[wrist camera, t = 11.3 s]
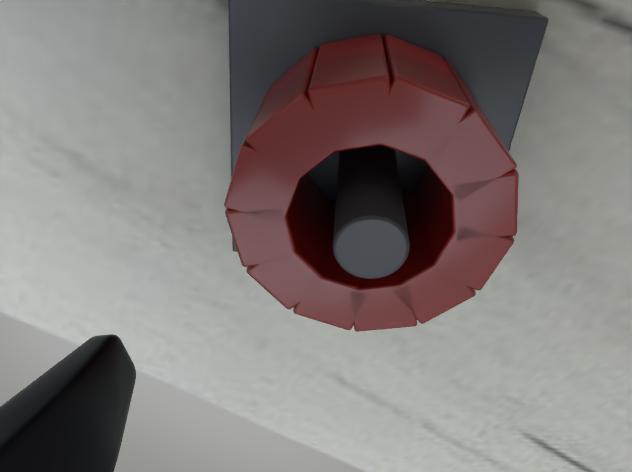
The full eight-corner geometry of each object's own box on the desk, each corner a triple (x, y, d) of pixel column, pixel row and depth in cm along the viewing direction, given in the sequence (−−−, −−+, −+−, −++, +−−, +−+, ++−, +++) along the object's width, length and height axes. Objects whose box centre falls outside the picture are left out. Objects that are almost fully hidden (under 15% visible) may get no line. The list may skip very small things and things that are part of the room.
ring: (511, 45, 13) (566, 92, 10) (454, 256, 16) (479, 345, 13) (255, 21, 13) (219, 60, 10) (253, 236, 17) (227, 319, 13)
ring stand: (538, 11, 13) (648, 72, 8) (465, 258, 18) (509, 398, 13) (235, -17, 13) (162, 26, 8) (238, 235, 18) (191, 364, 13)
